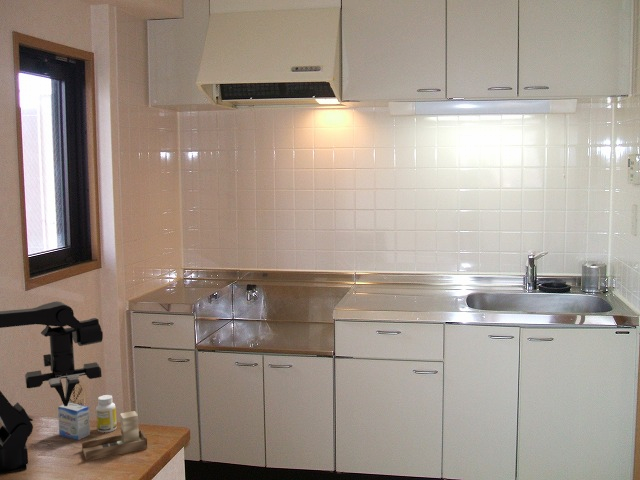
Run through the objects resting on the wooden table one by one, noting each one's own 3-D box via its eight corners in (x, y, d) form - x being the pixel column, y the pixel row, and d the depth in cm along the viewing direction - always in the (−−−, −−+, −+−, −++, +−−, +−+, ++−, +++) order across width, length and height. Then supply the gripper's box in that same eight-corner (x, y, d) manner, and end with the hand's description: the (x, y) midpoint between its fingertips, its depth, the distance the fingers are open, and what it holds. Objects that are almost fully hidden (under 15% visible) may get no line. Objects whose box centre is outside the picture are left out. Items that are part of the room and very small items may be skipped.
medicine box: (58, 435, 196) (57, 406, 195) (71, 430, 200) (69, 401, 199) (78, 440, 192) (76, 411, 191) (90, 435, 196) (89, 406, 195)
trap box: (86, 460, 179) (85, 450, 179) (82, 450, 186) (81, 440, 185) (147, 448, 187) (146, 438, 186) (141, 439, 193) (141, 429, 192)
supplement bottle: (110, 424, 204) (109, 392, 203) (120, 429, 200) (118, 396, 199) (93, 429, 200) (92, 397, 199) (103, 434, 196) (101, 401, 195)
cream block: (124, 446, 185) (122, 418, 184) (121, 441, 189) (120, 413, 188) (139, 443, 187) (137, 415, 186) (136, 438, 190) (134, 410, 189)
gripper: (94, 337, 193) (97, 390, 195) (22, 346, 184) (26, 402, 186) (100, 347, 183) (103, 403, 185) (24, 357, 174) (28, 416, 176)
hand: (65, 405), depth 183 cm, fingers closed
